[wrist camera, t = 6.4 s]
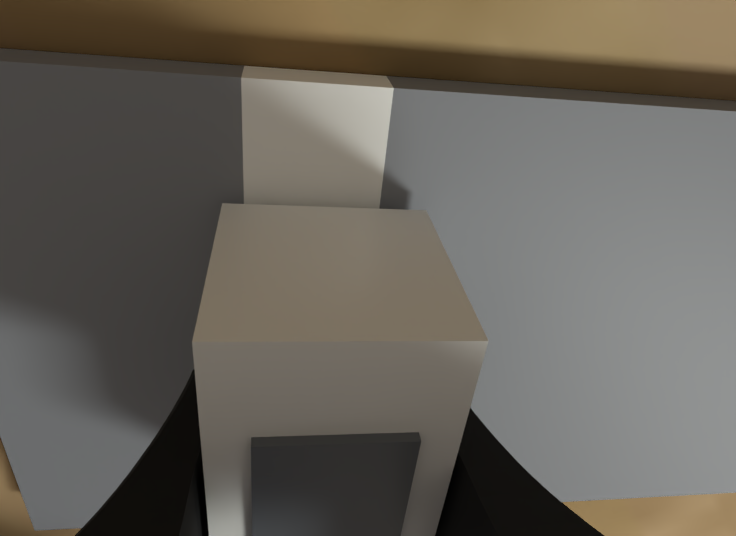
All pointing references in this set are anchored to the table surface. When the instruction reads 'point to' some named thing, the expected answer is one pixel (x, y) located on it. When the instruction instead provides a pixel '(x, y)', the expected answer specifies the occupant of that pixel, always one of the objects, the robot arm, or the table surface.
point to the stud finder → (331, 372)
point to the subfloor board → (380, 191)
